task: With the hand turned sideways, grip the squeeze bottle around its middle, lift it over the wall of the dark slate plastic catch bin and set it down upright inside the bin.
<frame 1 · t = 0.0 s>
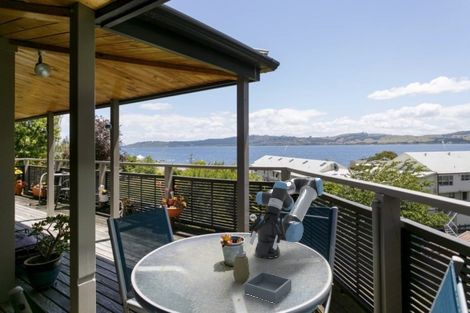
hand: (262, 246, 157), 15 cm above the table, tool tilted 35°, fingers open, 13 cm apart
squeeze bottle: (241, 281, 152), on the table
catch bin: (268, 291, 141), on the table
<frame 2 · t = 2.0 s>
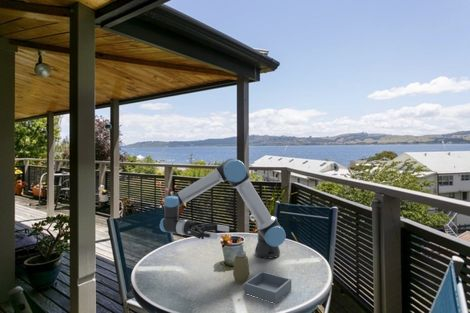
hand: (223, 232, 155), 23 cm above the table, tool horizontal, fingers open, 13 cm apart
nothing on the table moved.
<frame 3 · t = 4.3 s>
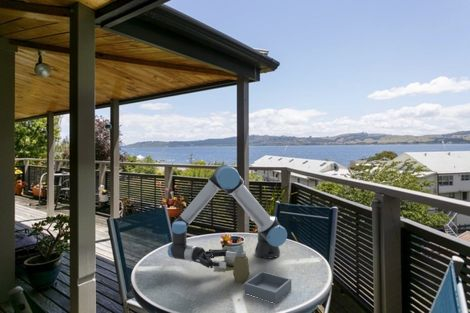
hand: (232, 260, 153), 10 cm above the table, tool horizontal, fingers open, 13 cm apart
nothing on the table moved.
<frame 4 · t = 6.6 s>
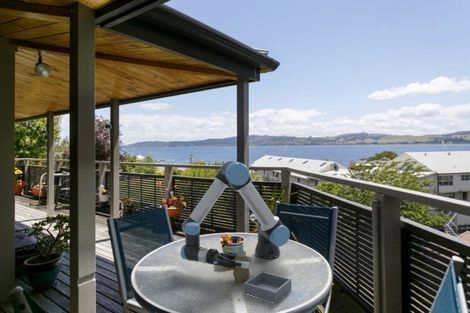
hand: (250, 262, 149), 10 cm above the table, tool horizontal, fingers closed on squeeze bottle, 6 cm apart
squeeze bottle: (241, 281, 152), on the table, touching gripper
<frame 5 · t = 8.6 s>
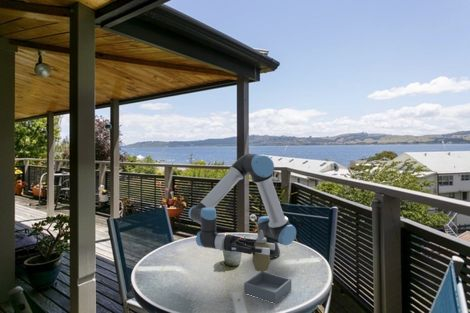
hand: (271, 249, 139), 20 cm above the table, tool horizontal, fingers closed on squeeze bottle, 6 cm apart
squeeze bottle: (261, 269, 142), point 10 cm above the table, touching gripper
when the fingers open (12 cm above the table, at t = 10.7 s): squeeze bottle drops 1 cm, resting on catch bin.
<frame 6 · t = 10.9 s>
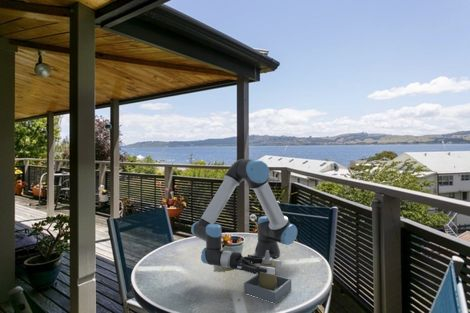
hand: (277, 267, 138), 12 cm above the table, tool horizontal, fingers open, 9 cm apart
squeeze bottle: (267, 290, 141), point 1 cm above the table, touching catch bin
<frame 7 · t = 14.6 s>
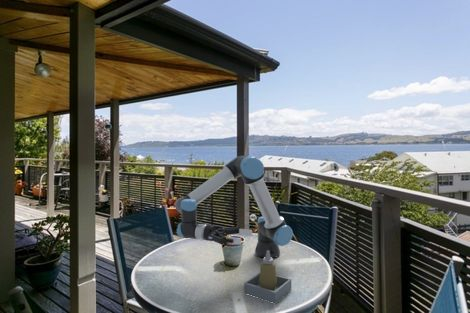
hand: (246, 236, 143), 24 cm above the table, tool horizontal, fingers open, 13 cm apart
nothing on the table moved.
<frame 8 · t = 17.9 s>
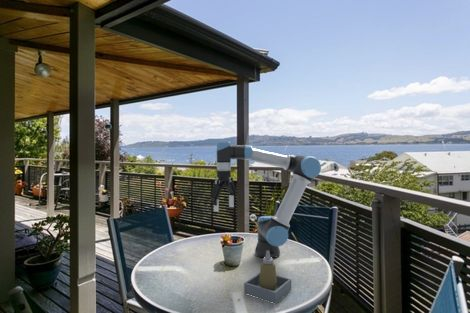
hand: (224, 209, 169), 32 cm above the table, tool pointing down, fingers open, 13 cm apart
nothing on the table moved.
at the end: squeeze bottle inside the target area on the catch bin (0.1 cm from its centre), point 0.6 cm above the catch bin's base; squeeze bottle tilted 0°; the gripper is holding nothing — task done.
